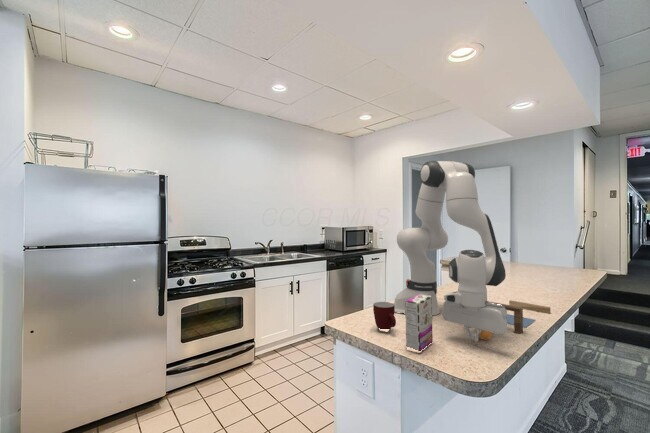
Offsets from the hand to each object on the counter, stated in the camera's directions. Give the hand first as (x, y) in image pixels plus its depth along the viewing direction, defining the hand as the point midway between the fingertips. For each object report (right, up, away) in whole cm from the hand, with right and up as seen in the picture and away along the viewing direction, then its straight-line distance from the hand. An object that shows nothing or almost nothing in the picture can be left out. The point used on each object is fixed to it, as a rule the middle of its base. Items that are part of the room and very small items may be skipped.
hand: (473, 339), depth 101 cm
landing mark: (+29, -2, +25) cm, 38 cm away
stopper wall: (+46, -2, +39) cm, 60 cm away
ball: (+6, +1, +5) cm, 8 cm away
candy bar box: (-18, -2, 0) cm, 18 cm away
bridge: (+18, -2, +16) cm, 24 cm away
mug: (-26, -3, +14) cm, 30 cm away
